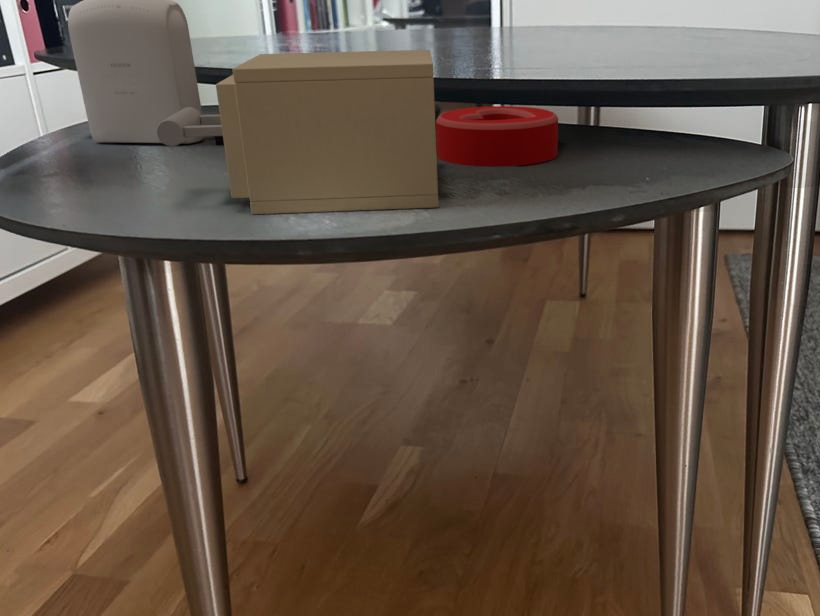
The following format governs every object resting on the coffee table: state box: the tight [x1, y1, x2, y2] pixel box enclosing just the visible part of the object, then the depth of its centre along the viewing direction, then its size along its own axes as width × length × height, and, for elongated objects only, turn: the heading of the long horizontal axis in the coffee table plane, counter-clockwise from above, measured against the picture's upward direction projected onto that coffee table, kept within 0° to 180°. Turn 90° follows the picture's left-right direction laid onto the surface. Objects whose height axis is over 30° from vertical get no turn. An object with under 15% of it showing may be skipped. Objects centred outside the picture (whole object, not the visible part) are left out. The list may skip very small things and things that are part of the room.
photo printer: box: [67, 0, 205, 145], centre depth 74 cm, size 10×4×12 cm, turn 78°
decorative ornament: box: [435, 105, 559, 167], centre depth 68 cm, size 10×10×3 cm
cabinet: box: [232, 49, 440, 215], centre depth 55 cm, size 12×10×9 cm
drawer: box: [157, 74, 250, 199], centre depth 55 cm, size 15×8×7 cm, turn 94°
